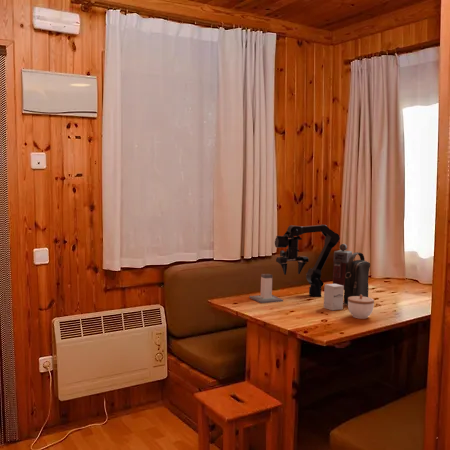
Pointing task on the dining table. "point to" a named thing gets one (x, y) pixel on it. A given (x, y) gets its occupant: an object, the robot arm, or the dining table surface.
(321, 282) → the robot arm
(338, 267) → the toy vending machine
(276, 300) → the pad
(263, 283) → the block
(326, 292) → the supplement box
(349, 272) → the shoulder bag
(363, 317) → the lidded bowl
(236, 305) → the dining table surface
